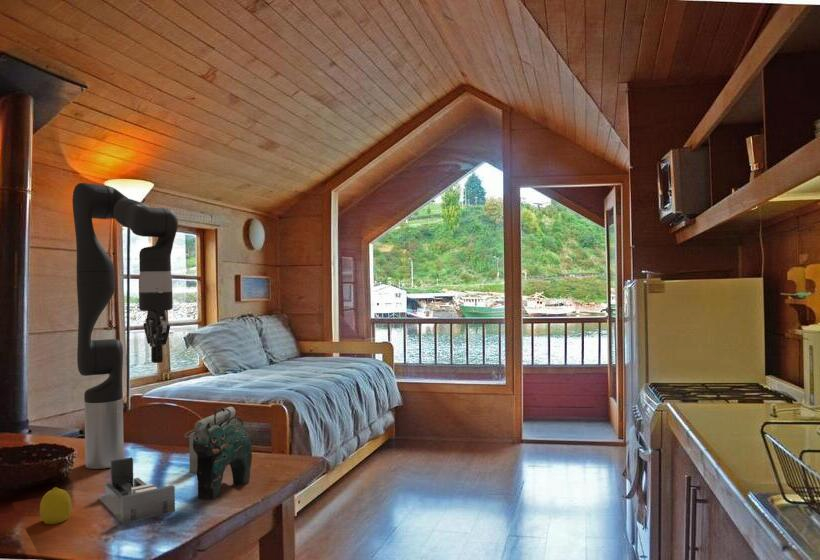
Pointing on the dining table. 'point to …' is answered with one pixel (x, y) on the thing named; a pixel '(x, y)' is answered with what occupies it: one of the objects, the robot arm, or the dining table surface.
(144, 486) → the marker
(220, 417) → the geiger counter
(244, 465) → the green animal figurine
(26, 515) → the dining table surface
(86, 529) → the dining table surface
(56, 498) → the lemon
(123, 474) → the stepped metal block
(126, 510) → the grey open box
